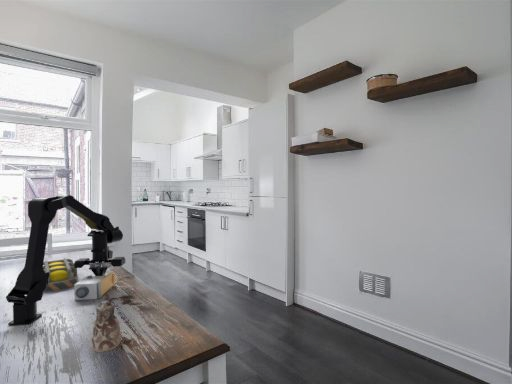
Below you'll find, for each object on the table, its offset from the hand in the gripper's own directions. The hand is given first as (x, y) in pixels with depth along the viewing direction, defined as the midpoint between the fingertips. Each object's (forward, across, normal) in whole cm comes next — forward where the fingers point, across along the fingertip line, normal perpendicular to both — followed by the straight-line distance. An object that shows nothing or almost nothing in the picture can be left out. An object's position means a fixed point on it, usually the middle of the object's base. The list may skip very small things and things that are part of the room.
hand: (100, 282), depth 125 cm
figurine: (+3, -20, +47) cm, 51 cm away
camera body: (+3, +1, +7) cm, 8 cm away
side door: (+2, -4, +4) cm, 6 cm away
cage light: (+3, +24, -14) cm, 28 cm away
